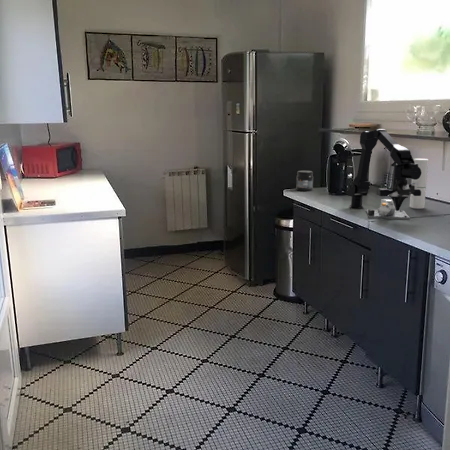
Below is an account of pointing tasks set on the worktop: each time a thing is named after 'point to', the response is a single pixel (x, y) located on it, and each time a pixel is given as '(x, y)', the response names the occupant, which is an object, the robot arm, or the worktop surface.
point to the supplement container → (304, 181)
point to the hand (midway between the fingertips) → (397, 210)
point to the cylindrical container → (420, 184)
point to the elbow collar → (386, 207)
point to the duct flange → (397, 215)
